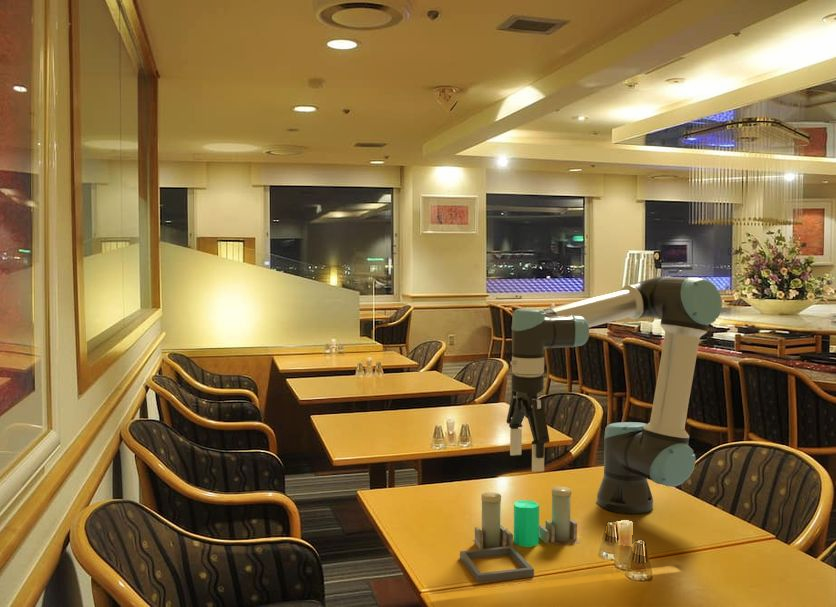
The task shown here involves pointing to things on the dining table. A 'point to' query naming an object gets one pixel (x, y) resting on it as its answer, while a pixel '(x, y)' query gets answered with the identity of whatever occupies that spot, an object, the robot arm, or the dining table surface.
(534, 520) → the candle
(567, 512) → the cream round cylinder
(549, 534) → the fuse clips
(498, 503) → the fuse
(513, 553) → the tray
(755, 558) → the dining table surface
